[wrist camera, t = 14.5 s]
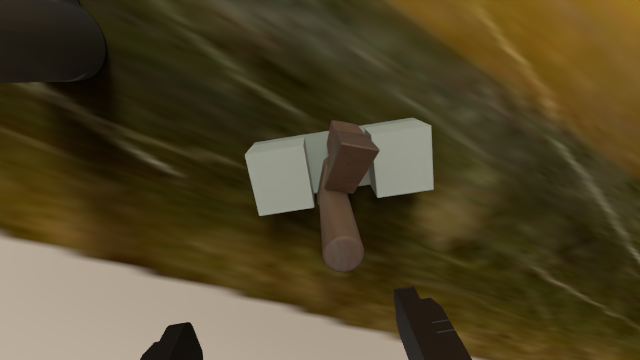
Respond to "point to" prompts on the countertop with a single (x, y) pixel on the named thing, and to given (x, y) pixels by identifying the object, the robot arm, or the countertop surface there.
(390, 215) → the countertop surface
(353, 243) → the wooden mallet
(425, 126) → the slotted beam
